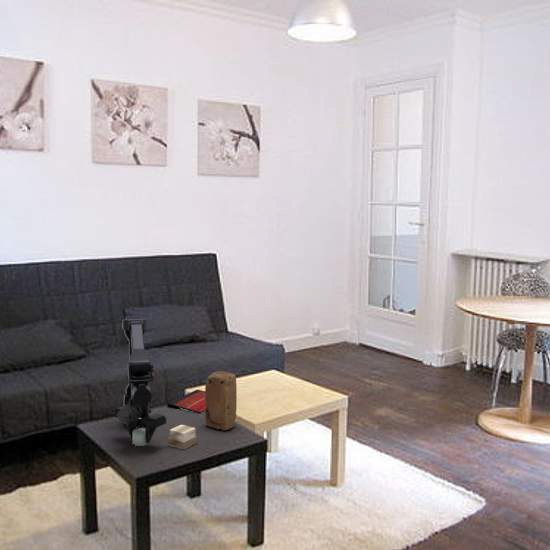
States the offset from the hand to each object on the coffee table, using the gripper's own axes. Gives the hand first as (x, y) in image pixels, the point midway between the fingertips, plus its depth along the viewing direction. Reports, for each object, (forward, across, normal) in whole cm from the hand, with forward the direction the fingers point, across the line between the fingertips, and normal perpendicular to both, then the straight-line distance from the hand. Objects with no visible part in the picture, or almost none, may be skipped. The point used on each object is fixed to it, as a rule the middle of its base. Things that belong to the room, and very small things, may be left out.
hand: (140, 440), depth 214 cm
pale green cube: (+1, 0, 0) cm, 1 cm away
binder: (+2, -11, +44) cm, 45 cm away
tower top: (-2, +12, +8) cm, 14 cm away
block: (+1, +12, +28) cm, 30 cm away
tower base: (+2, +12, +8) cm, 14 cm away
